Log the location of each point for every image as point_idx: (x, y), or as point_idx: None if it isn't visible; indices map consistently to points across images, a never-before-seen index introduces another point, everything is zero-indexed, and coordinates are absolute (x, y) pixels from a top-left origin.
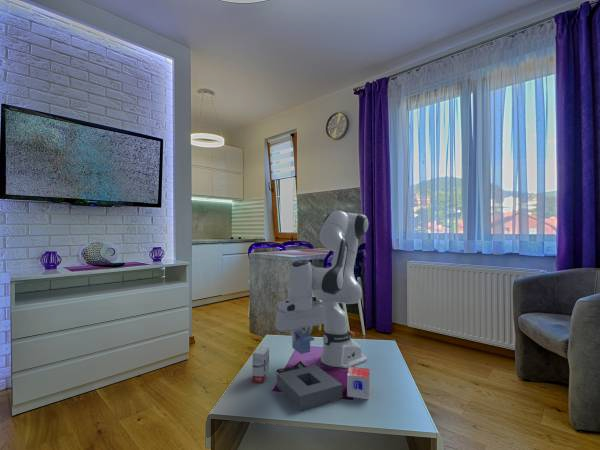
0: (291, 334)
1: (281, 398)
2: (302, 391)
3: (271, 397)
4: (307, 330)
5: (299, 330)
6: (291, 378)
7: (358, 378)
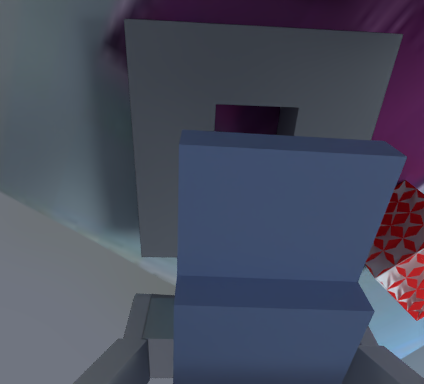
0: (111, 345)
1: (120, 130)
2: (167, 236)
3: (82, 102)
4: (380, 376)
5: (259, 373)
6: (178, 118)
7: (400, 286)
